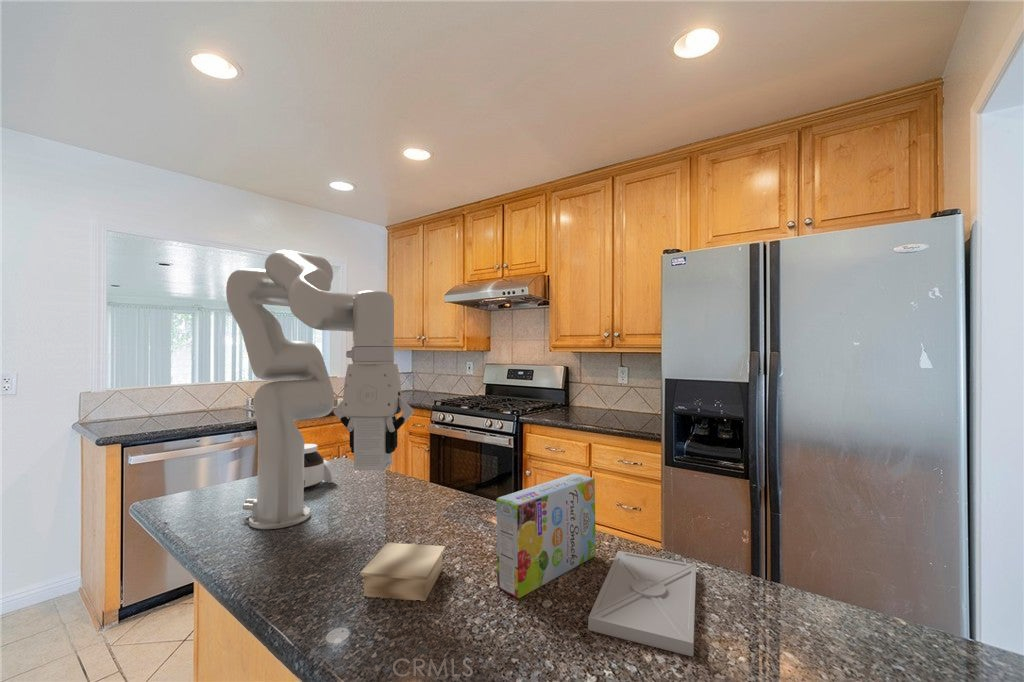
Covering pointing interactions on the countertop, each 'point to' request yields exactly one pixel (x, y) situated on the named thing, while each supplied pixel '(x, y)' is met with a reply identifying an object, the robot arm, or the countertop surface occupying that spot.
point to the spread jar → (316, 468)
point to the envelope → (648, 602)
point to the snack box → (544, 532)
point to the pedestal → (403, 571)
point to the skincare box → (370, 444)
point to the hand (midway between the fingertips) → (373, 451)
